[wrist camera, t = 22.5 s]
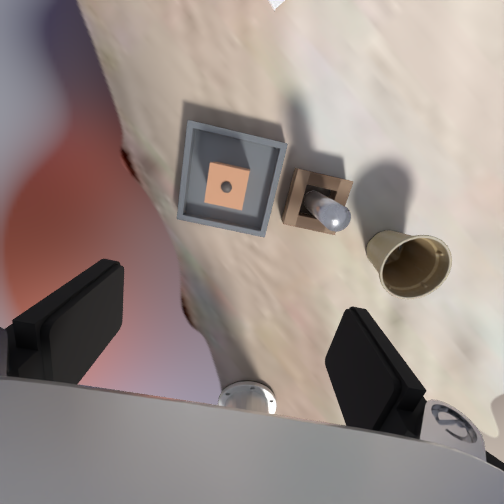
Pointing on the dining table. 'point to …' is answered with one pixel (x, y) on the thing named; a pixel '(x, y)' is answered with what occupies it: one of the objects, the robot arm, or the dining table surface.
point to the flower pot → (409, 263)
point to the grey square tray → (238, 154)
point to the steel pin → (327, 211)
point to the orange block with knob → (226, 185)
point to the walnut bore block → (296, 193)
